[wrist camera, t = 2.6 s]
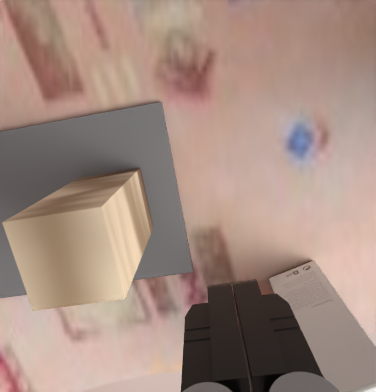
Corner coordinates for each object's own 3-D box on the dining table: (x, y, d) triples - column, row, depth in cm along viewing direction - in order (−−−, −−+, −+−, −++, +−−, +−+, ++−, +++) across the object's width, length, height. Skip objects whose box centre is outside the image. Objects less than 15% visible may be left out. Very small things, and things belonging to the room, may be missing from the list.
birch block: (140, 167, 24) (101, 206, 15) (153, 227, 26) (125, 298, 16) (78, 177, 25) (2, 222, 15) (94, 236, 26) (33, 310, 17)
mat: (161, 101, 23) (160, 101, 23) (193, 269, 27) (192, 272, 27) (-84, 147, 25) (-89, 147, 25) (-24, 299, 29) (-27, 301, 28)
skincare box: (266, 277, 27) (314, 404, 16) (314, 258, 26) (400, 375, 15) (292, 332, 28) (354, 485, 17) (338, 315, 28) (435, 462, 16)
